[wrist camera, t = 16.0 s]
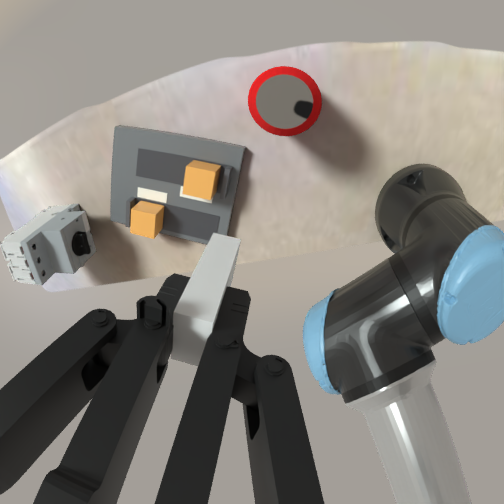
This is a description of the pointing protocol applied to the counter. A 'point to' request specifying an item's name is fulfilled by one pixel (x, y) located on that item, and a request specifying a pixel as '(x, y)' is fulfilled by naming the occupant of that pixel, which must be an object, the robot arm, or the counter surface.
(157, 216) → the tab
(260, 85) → the soda can
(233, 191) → the switch board
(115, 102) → the counter surface
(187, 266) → the counter surface
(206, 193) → the tab
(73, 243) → the circuit breaker
